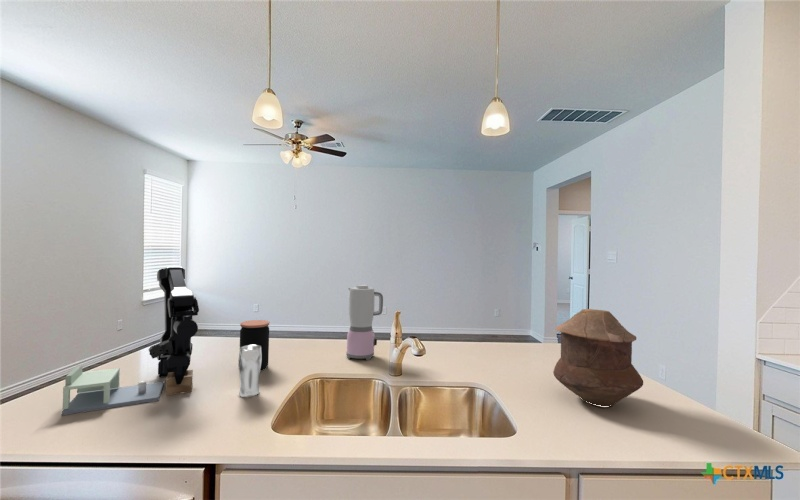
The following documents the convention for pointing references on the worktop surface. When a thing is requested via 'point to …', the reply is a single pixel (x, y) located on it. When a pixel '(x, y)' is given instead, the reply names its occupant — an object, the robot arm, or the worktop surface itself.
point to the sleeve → (180, 388)
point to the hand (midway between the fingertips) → (179, 379)
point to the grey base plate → (115, 397)
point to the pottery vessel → (597, 358)
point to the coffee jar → (256, 337)
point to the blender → (362, 321)
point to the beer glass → (249, 369)
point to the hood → (90, 382)
